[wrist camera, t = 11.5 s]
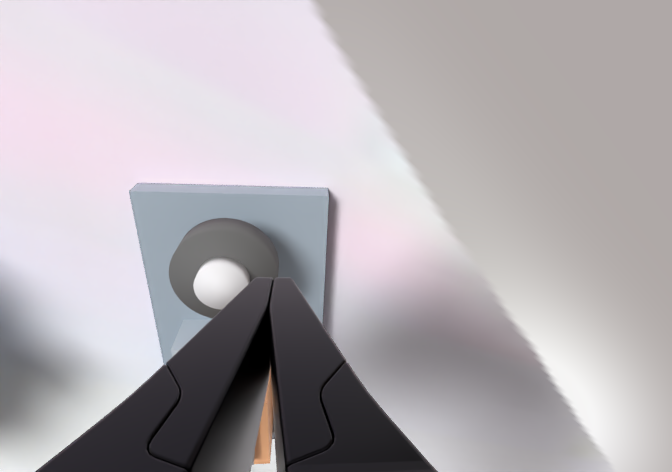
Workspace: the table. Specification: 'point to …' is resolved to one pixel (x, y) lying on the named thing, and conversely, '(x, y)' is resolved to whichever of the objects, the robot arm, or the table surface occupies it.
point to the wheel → (220, 263)
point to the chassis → (238, 203)
